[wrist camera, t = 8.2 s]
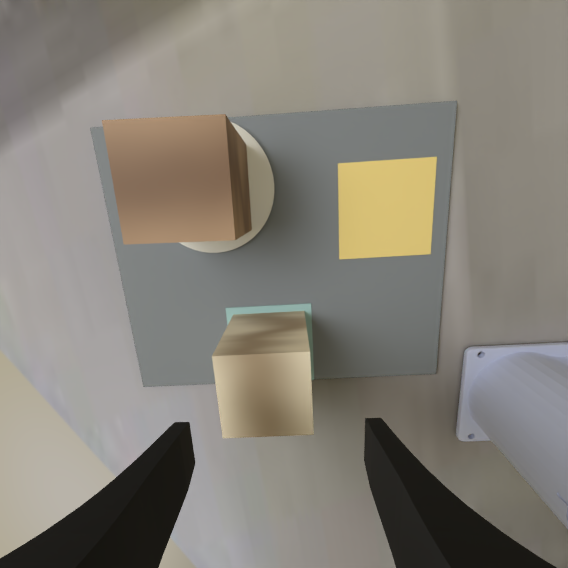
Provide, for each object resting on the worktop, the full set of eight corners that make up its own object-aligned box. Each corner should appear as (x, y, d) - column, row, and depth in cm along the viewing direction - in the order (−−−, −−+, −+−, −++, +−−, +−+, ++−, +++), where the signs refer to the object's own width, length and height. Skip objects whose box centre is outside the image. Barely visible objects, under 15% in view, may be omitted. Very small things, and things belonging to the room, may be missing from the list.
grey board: (453, 102, 18) (458, 100, 17) (433, 370, 22) (436, 374, 22) (94, 129, 18) (89, 127, 18) (145, 383, 23) (142, 387, 23)
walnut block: (251, 229, 19) (235, 240, 13) (174, 232, 19) (123, 244, 13) (246, 144, 18) (225, 114, 12) (163, 148, 18) (101, 120, 12)
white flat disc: (269, 114, 18) (269, 111, 17) (278, 247, 20) (278, 249, 19) (138, 123, 18) (133, 121, 17) (160, 254, 20) (156, 256, 19)
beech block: (304, 310, 21) (310, 351, 15) (307, 374, 22) (313, 434, 16) (233, 314, 21) (211, 356, 15) (240, 377, 22) (223, 438, 16)
